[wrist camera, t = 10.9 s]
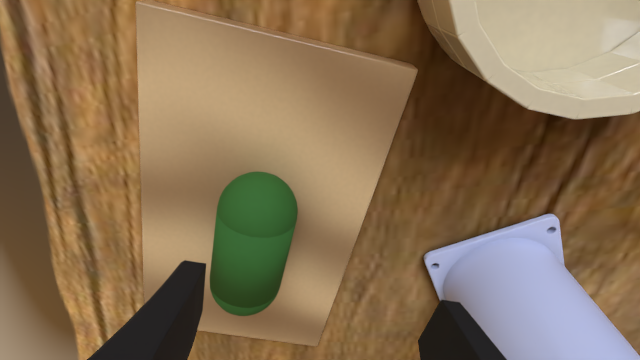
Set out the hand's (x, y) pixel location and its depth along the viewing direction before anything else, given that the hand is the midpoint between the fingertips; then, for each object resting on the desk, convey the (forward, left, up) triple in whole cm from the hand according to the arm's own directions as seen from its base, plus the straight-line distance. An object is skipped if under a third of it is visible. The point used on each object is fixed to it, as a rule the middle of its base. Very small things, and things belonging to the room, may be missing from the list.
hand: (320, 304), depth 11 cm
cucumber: (-2, +5, -6) cm, 8 cm away
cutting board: (-2, +5, -10) cm, 11 cm away
